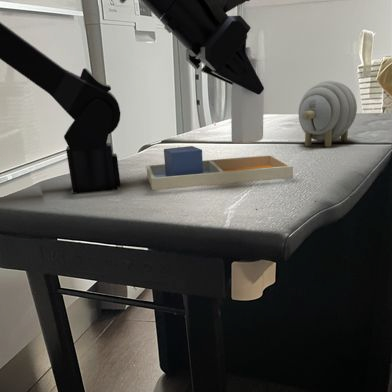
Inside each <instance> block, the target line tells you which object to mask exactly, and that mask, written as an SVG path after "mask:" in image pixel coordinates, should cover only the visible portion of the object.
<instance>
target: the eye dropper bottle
mask: <svg viewBox="0 0 392 392" xmlns="http://www.w3.org/2000/svg"><path fill="white" fill-rule="evenodd" d="M246 54H247V56H248V58H249V60H250V62H251V64H252V66H253V68H254V70H255V72H256V73H257V61H258V60H257V58H256V57H254V56H253V55H252V49H251V47H250V46H248V47H247V46H246ZM260 81H261V83H262V85H263V86H264V83H263V81H262V80H261V79H260ZM264 91H265V89H264V90H263V91H262V93H261V94H260V95H258V94H256V93H253V92H251V91H249V90H247V89H245V88H243V87H241V86H239V85H237V84H235V83H233V85H231V88H230V116H231V117H230V118H231V119H230V120H231V123H230V125H231V127H230V128H231V130H230V131H231V142H232V143H233V144H250V143H251V144H252V143H256V142H259V141H262V140H263V138H264V95H265V94H264V93H265V92H264Z"/></svg>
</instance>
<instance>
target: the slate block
mask: <svg viewBox="0 0 392 392" xmlns="http://www.w3.org/2000/svg"><path fill="white" fill-rule="evenodd" d="M163 157H164V164H165V172H166V177H168V176H180V175H191V174H203V161H204V160H203V149H201V148H198V147H197V146H194V145H187V146H179V147H178V146H177V147H170V148H164V149H163Z"/></svg>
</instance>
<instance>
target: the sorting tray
mask: <svg viewBox="0 0 392 392" xmlns="http://www.w3.org/2000/svg"><path fill="white" fill-rule="evenodd" d="M145 168H146V169H145V170H146V177H147V180H148V182H149V184H150V188H151V190H152V191H157V190H170V189H179V188H191V187H203V186H212V185H213V186H214V185H225V184H238V183H247V182H259V181H270V180H271V181H272V180H281V179H282V180H283V179H292V178H293V177H294V175H293V174H294V166H293V165H291V164H290V163H287V162H286V161H284V160H282V159H281V158H278V157H277V156H275V155H273V154H265V155H253V156H241V157H231V158H219V159H206V160H205V159H204V160H203V174H191V175H180V176H168V177H166V172H165V163H159V164H146V165H145Z"/></svg>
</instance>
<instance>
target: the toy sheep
mask: <svg viewBox="0 0 392 392" xmlns="http://www.w3.org/2000/svg"><path fill="white" fill-rule="evenodd" d="M357 109H358V104H357V99H356V97H355V94H354V92H353V91H352V90H351V89H350V88H349V86H347V85H346V84H344V83H342V82H339V81H335V80H324V81H321V82H319V83H317V84H315V85H314V86H312V87H310V88H309V89H308V90H307V91H306V92H305V93H304V94H303V96H302V97H301V100H300V102H299V105H298V122H299V125H300V127H301V129H302V131H303V132H304V145H305V147H311V145H312V144H313V143H312V141H313V140H314V141H318V142H324V146H325V147H326V148H330V147H331V146H332V141H335V140H337V139H339V138H340V141H342V142H347V141H348V138H349V137H348V134H349V129H350V128H351V126H352V125H353V123H354V122H355V120H356V116H357V111H358V110H357Z"/></svg>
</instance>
